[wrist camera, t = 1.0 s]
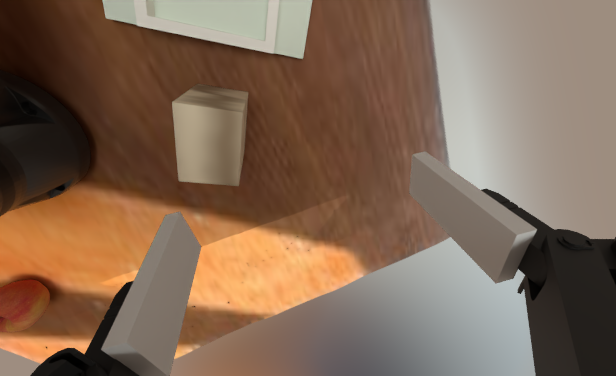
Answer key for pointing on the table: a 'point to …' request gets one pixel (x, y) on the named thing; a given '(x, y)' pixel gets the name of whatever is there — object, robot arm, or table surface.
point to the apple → (22, 304)
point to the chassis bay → (223, 21)
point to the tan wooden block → (210, 134)
